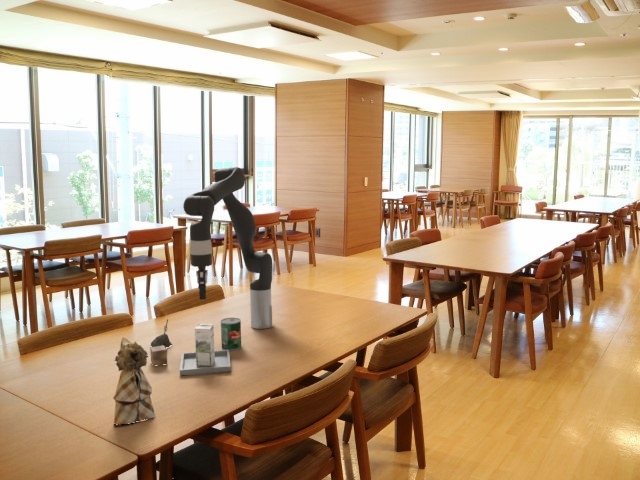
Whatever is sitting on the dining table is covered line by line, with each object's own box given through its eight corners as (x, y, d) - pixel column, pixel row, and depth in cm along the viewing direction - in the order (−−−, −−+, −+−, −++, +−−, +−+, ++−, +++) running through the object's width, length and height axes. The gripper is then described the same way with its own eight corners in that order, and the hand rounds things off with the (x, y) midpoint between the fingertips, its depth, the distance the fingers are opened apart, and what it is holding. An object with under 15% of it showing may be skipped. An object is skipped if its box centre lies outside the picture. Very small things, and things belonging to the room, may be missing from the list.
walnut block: (164, 360, 223) (163, 345, 222) (167, 365, 219) (166, 349, 218) (151, 362, 221) (150, 347, 220) (153, 367, 217) (152, 351, 216)
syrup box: (215, 360, 221) (213, 323, 218) (211, 366, 215) (210, 328, 213) (200, 360, 221) (198, 323, 219) (196, 366, 215) (194, 328, 213)
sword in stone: (144, 347, 239) (144, 317, 238) (160, 342, 246) (159, 314, 244) (161, 351, 233) (160, 321, 232) (176, 346, 240) (176, 317, 238)
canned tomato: (237, 351, 233) (236, 324, 231) (218, 349, 234) (217, 322, 233) (244, 344, 241) (243, 318, 239) (225, 343, 242) (224, 317, 240)
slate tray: (229, 355, 228) (229, 349, 228) (230, 372, 211) (230, 366, 211) (182, 358, 225) (182, 352, 225) (180, 376, 208) (179, 370, 208)
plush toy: (170, 402, 185) (147, 328, 180) (160, 424, 171) (135, 344, 166) (126, 412, 185) (102, 338, 180) (113, 435, 171) (86, 356, 167)
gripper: (211, 255, 205) (213, 300, 208) (211, 248, 219) (213, 291, 222) (189, 256, 204) (191, 302, 207) (190, 249, 218) (192, 292, 220)
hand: (203, 296), depth 214 cm, fingers open, 8 cm apart
